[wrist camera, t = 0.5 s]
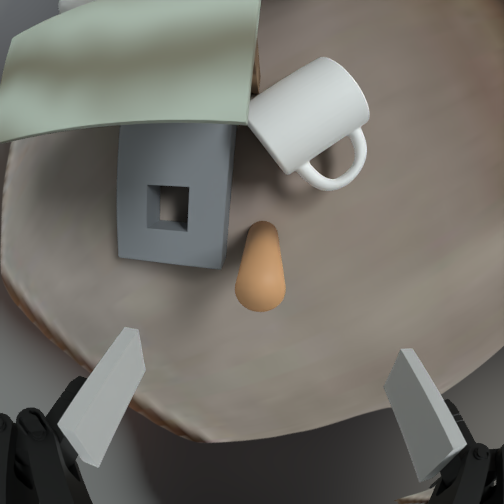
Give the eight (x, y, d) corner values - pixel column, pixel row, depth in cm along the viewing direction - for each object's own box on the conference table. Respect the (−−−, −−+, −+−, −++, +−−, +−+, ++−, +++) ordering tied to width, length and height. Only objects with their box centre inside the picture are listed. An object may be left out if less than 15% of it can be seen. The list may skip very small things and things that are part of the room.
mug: (240, 117, 28) (231, 102, 21) (312, 70, 26) (326, 44, 18) (305, 203, 31) (317, 217, 23) (374, 155, 29) (405, 156, 21)
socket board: (138, 101, 28) (123, 95, 24) (239, 100, 28) (235, 92, 24) (133, 246, 33) (118, 257, 30) (226, 256, 33) (221, 269, 29)
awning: (124, 81, 27) (12, 37, 9) (264, 78, 27) (261, -21, 8) (117, 142, 29) (-8, 144, 11) (258, 145, 29) (245, 121, 11)
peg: (249, 219, 32) (236, 263, 18) (279, 222, 32) (288, 269, 18) (246, 248, 33) (233, 309, 20) (275, 251, 33) (281, 313, 19)
